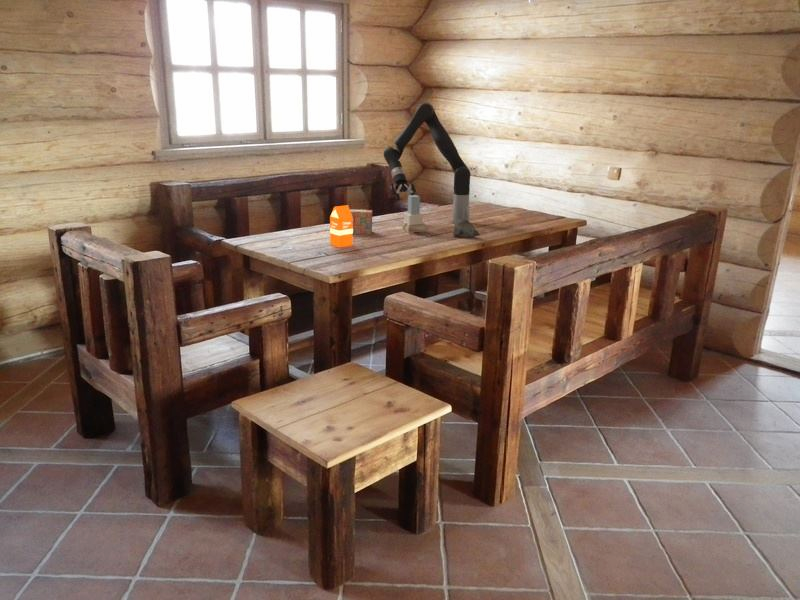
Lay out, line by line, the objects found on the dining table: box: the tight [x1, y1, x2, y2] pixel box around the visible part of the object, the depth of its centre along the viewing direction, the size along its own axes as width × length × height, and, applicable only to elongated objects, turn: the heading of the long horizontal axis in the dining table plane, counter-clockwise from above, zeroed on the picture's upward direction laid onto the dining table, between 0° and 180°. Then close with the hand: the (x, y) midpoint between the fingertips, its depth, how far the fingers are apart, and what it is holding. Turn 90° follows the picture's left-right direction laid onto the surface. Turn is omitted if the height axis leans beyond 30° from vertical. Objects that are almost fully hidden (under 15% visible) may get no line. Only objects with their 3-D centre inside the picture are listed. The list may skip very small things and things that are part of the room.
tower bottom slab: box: [401, 220, 426, 234], centre depth 384 cm, size 10×10×5 cm
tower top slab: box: [403, 212, 424, 225], centre depth 382 cm, size 8×8×5 cm
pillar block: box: [407, 194, 421, 215], centre depth 380 cm, size 5×5×10 cm
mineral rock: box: [453, 219, 481, 238], centre depth 370 cm, size 13×11×10 cm
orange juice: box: [329, 204, 354, 248], centre depth 346 cm, size 8×9×20 cm
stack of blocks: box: [349, 208, 373, 234], centre depth 376 cm, size 21×6×12 cm, turn 88°
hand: (406, 199), depth 389 cm, fingers open, 8 cm apart
